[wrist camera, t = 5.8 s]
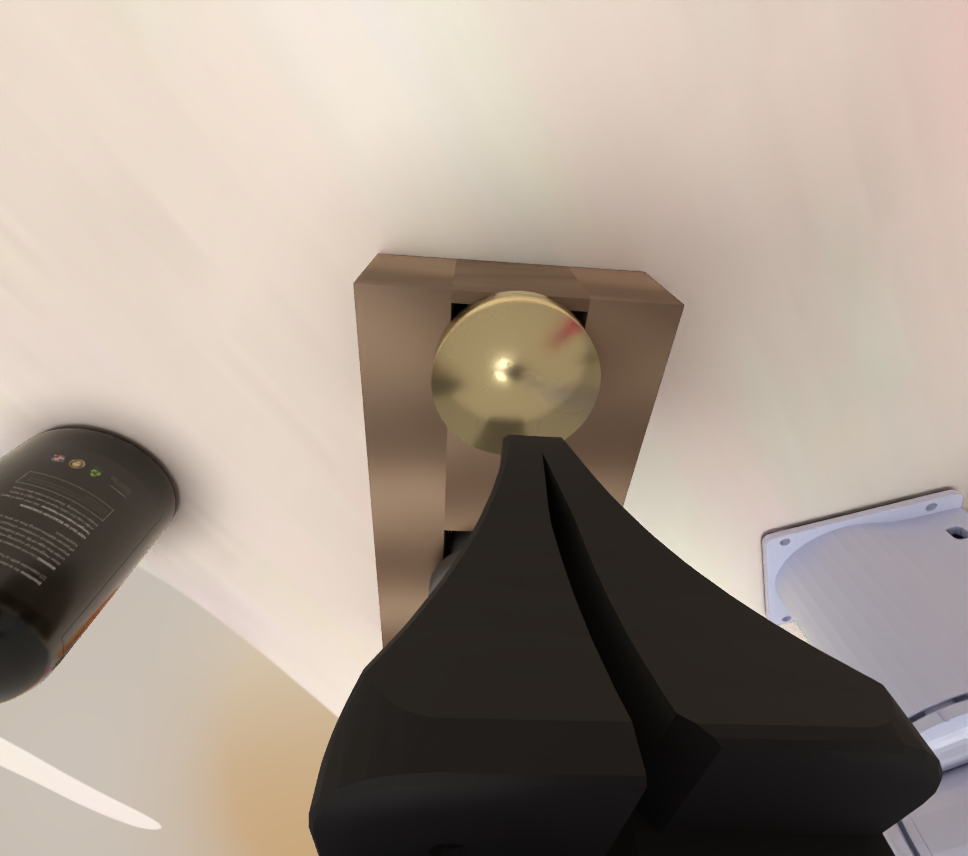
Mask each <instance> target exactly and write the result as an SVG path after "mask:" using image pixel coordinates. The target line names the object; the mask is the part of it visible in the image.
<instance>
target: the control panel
mask: <svg viewBox="0 0 968 856" xmlns="http://www.w3.org/2000/svg"><path fill="white" fill-rule="evenodd" d="M353 285H354V297H355V309H356V322H357V334H358V346H359V359H360V371H361V383H362V396H363V408H364V420H365V433H366V445H367V457H368V470H369V482H370V494H371V507H372V519H373V531H374V544H375V556H376V568H377V581H378V593H379V605H380V618H381V630H382V642H383V648H384V647H385V646H386V645H387V644H388V643H389V642H390V641H391V640H392V639H393V638H394V637H395V635H396V634H397V633H398V632H399V631H400V630H401V629H402V628H403V627H404V626H405V624H406V623H407V622H408V621H409V620H410V619H411V617H412V616H413V615H414V614H415V612H416V611H417V610H418V609H419V608H420V606H421V605H422V604H423V603H424V601H425V600H426V599H427V598H428V594H429V584H430V578H431V575H432V573H433V571H434V569H435V568H436V567H437V565H438V564H439V563H440V562H441V561H442V560H443V559H445V558H446V557H447V556H449V555H451V540H452V533H447V530H449V531H473V529H474V527H475V525H476V524H477V522H478V520H479V518H480V516H481V514H482V511H483V509H484V507H485V505H486V503H487V500H488V498H489V496H490V494H491V491H492V489H493V486H494V483H495V480H496V477H497V475H498V472H499V469H500V460H501V455H500V454H494V453H490V452H486V451H483V450H480V449H478V448H475V447H473V446H471V445H469V444H468V443H466V442H464V441H463V440H461V439H460V438H459V437H458V436H456V435H455V434H454V433H453V432H452V431H451V430H450V429H449V428H448V427H447V426H446V424H445V423H444V421H443V420H442V419H441V417H440V415H439V413H438V411H437V409H436V406H435V403H434V400H433V396H432V389H431V377H432V369H433V363H434V358H435V353H436V349H437V345H438V343H439V340H440V338H441V336H442V334H443V332H444V330H445V328H446V327H447V326H448V324H449V323H450V322H451V320H452V319H453V318H454V317H455V303H459V304H471V303H473V302H475V301H477V300H478V299H481V298H483V297H486V296H488V295H492V294H495V293H499V292H506V291H527V292H534V293H538V294H541V295H545V296H547V297H549V298H552V299H554V300H556V301H557V302H559V303H561V304H562V305H564V306H565V307H566V308H568V309H569V310H570V311H571V312H572V313H573V314H574V315H575V316H576V317H577V318H578V319H579V321H580V322H581V324H582V325H583V327H584V328H585V330H586V332H587V334H588V336H589V338H590V339H591V341H592V343H593V345H594V347H595V349H596V352H597V355H598V358H599V361H600V369H601V384H600V390H599V394H598V397H597V401H596V403H595V405H594V407H593V409H592V411H591V413H590V414H589V416H588V418H587V419H586V420H585V421H584V423H583V424H582V425H581V426H580V427H579V428H578V429H577V430H576V431H575V432H574V433H573V434H572V435H570V436H569V437H568V438H566V439H565V440H564V441H565V442H566V443H567V444H568V445H569V446H570V448H571V449H572V450H573V451H574V453H575V454H576V455H577V456H578V457H579V459H580V460H581V461H582V462H583V463H584V465H585V466H586V467H587V468H588V469H589V471H590V472H591V473H592V474H593V475H594V476H595V478H596V479H597V480H598V481H599V482H600V483H601V484H602V485H603V487H604V488H605V489H606V490H607V491H608V492H609V493H610V494H611V495H612V496H613V497H614V498H615V500H616V501H617V502H618V503H619V504H620V505H621V506H622V507H623V504H624V501H625V498H626V495H627V491H628V488H629V485H630V482H631V478H632V475H633V472H634V468H635V465H636V462H637V459H638V455H639V452H640V449H641V445H642V442H643V439H644V436H645V432H646V429H647V426H648V423H649V419H650V416H651V413H652V409H653V406H654V403H655V400H656V396H657V393H658V390H659V386H660V383H661V380H662V377H663V373H664V370H665V367H666V364H667V360H668V357H669V354H670V350H671V347H672V344H673V341H674V337H675V334H676V331H677V327H678V324H679V321H680V318H681V314H682V311H683V308H684V304H683V303H681V302H680V301H679V300H678V299H676V298H675V297H674V296H673V295H672V294H670V293H669V292H668V291H667V290H666V289H664V288H663V287H662V286H661V285H659V284H658V283H657V282H656V281H655V280H653V279H652V278H651V277H650V276H649V275H647V274H646V273H645V272H637V271H622V270H607V269H593V268H578V267H564V266H549V265H535V264H520V263H506V262H491V261H477V260H462V259H447V258H433V257H418V256H404V255H389V254H377V255H376V257H375V258H374V259H373V260H372V261H371V263H370V264H369V265H368V266H367V267H366V269H365V270H364V271H363V272H362V274H361V275H360V276H359V277H358V278H357V280H356V281H355V282H354V283H353Z"/></svg>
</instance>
